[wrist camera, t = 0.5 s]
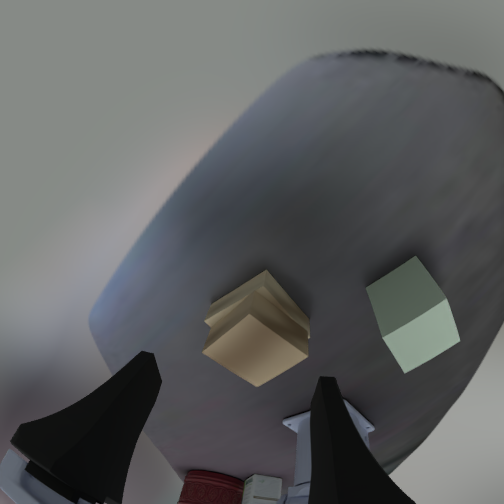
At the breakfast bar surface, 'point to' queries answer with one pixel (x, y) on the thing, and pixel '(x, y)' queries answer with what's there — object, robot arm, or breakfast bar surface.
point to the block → (412, 314)
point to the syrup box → (261, 490)
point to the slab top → (257, 340)
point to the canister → (210, 489)
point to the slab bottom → (265, 288)
